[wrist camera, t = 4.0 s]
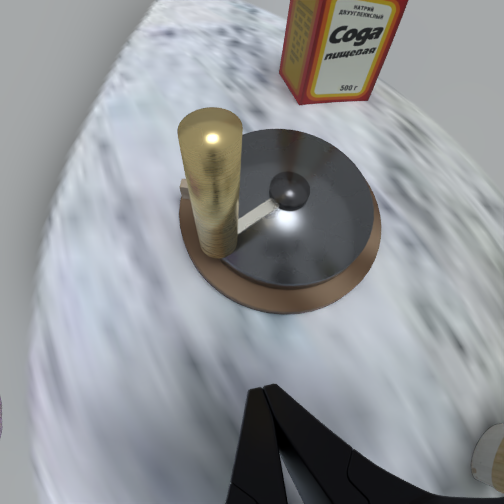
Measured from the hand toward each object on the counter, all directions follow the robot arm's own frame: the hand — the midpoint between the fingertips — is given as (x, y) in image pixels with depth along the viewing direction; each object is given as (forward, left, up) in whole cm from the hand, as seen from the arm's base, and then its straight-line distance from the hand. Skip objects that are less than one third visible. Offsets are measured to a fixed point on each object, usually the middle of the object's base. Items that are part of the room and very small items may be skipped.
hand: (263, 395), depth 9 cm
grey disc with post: (+13, +5, -12) cm, 18 cm away
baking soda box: (+33, +9, -14) cm, 36 cm away
